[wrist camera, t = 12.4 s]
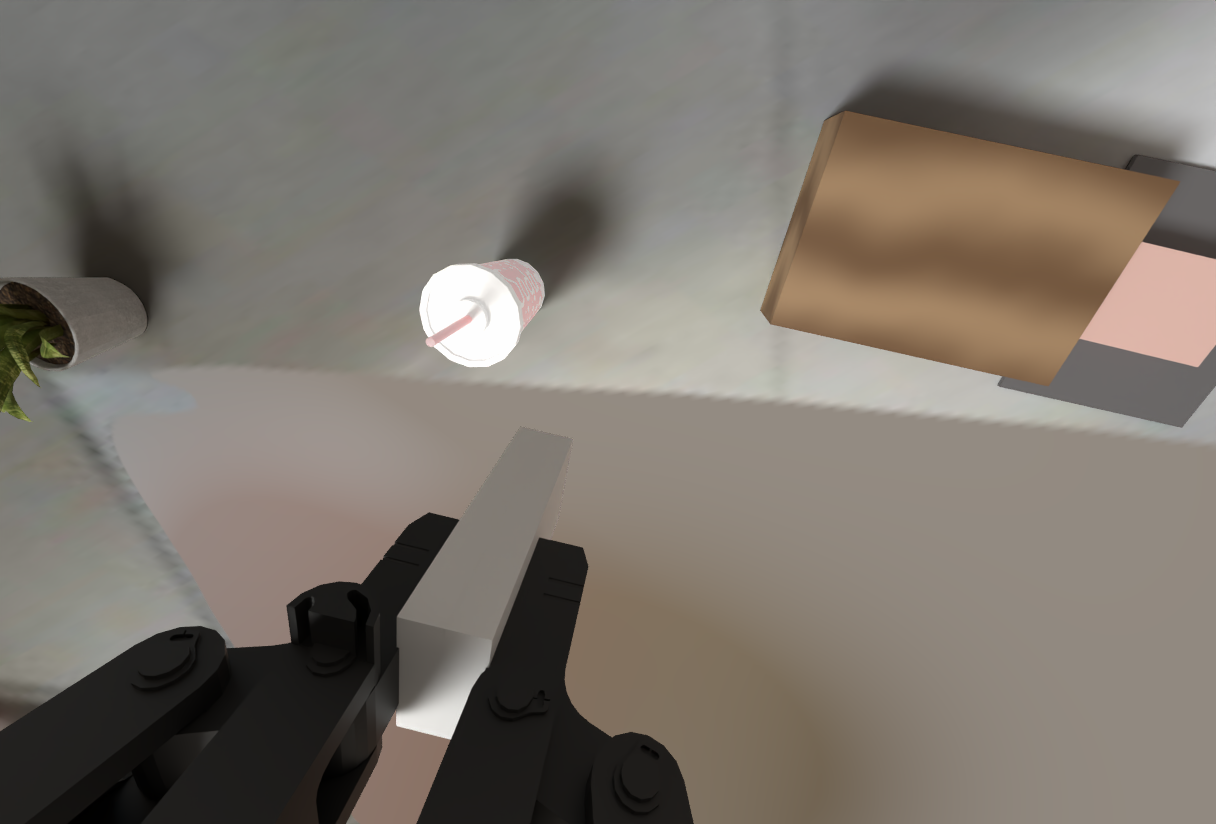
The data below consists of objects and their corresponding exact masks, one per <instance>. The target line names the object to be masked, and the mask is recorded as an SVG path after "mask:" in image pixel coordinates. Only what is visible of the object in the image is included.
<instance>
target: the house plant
mask: <svg viewBox="0 0 1216 824" xmlns="http://www.w3.org/2000/svg"><path fill="white" fill-rule="evenodd" d="M146 327H147V315H146V311H145V309H144V306H143V304H142V303H141V301H140V300H139V298H138V296H137V295H136V294H135V293H134V292H133V291H132V290H131V289H130V288H128V287H127V286H125V285H124V284H122V283H120V282H118V281H116V280H113V279H111V278H108V277H10V278H0V412H1V411H2V412H5V411H7V412H8V413H9V414H11V415H12V416H14V417H16V418H18V419H22V420H26V421H31V420H30V419H29V418H28V417H27V416H26V415H25V414H24V412H23V411H22V410H21V409H20V407H19V406H18V404H17V402H16V400H15V398H14V396H13V393H12V391H13V383H14V382H15V380H16V379H17V377H18V376H19V374H20V372H21V370H22V371H23V373H24V374H25V375H26V376H27V377H28V378H29V379H30V380H32V381H33V382H34V383H35V384H36V385H37V386H39V383H38V379H37V378H36V376H35V375H34V373H33V372H32V370H31V367H30V364H31V365H33V366H35V367H37V368H40V369H44V370H48V371H63V370H66V369H69V368H71V367H73V366H75V365H78V364H80V363H82V362H84V361H86V360H88V359H90V358H93V357H95V356H97V355H99V354H101V353H103V352H106V351H108V350H110V349H112V348H114V347H116V346H119V345H121V344H123V343H125V342H127V341H129V340H131V339H134V338H136V337H138V336H140V335H141V334H142V333H143V332H144V331H145V329H146ZM3 348H4V349H3ZM39 387H40V386H39ZM32 422H34V421H32Z"/></svg>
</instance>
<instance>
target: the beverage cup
mask: <svg viewBox="0 0 1216 824" xmlns="http://www.w3.org/2000/svg"><path fill="white" fill-rule="evenodd" d="M544 297H545V292H544V283H543V281H542V279H541V277H540V275H539V273H538V272H537V271H536V270H535V269H534V268H533V267H532V266H531V265H530V264H529V263H527V262H524V261H521V260H519V259H504V260H499V261H494V262H489V263H484V264H476V263H474V264H456V265H451V266H449V267H447V268H445V269H443V270H441V271H439V272H438V273H436V274H434V275H433V276H432V278H431V279H430V280H429V282H428V283H427V285H426V286H425V288H424V289H423V291H422V297H421V303H420V309H419V310H420V315H421V319H422V324H423V329H424V331H425V332H426V334H427V336H428V337H429V338H427V339H426V344H427V345H428V346H429V347H433V346H434V347H435V348H436V349H438V350H439V351H440V352H441V353H442V354H444V355H445V356H446V357H447V358H448V359H450V360H452V361H454V362H457V363H460V364H462V365H465V366H468V367H488V366H490V365H492V364H494V363H497V362H499V361H501V360H503V359H504V358H505V357H506V356H507V355H508V354H509V353H510V352H511V350H512V349H513V348H514V347H515V346H516V344H517V343H518V342H519V339H520V335H521V332H522V330H523V329H524V328H525V327H526V325H527V324H528V323H529V322H530V320H531V319H532V318H533V317H534V315H535V314H536V313H537V312H538V310H539V309H540V308H541V307H542V303H543V300H544Z"/></svg>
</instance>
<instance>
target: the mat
mask: <svg viewBox="0 0 1216 824" xmlns="http://www.w3.org/2000/svg"><path fill="white" fill-rule="evenodd" d="M1126 170H1129V171H1134V172H1138V173H1143V174H1148V175H1153V176H1157V177H1162V178H1167V179H1172V180H1176V181H1181V182H1180V183H1179V185H1178V187H1177V188H1176V190H1175V191H1174V193H1173V194H1172V196H1171V197H1170V199H1169V200H1168V202H1167V204H1166V205H1165V207H1164V208H1163V210H1162V211H1161V213H1160V214H1159V216H1158V218H1157V219H1156V221H1155V222H1154V224H1153V225H1152V227H1151V228H1150V230H1149V231H1148V233H1147V235H1146V236H1145V238H1144V239H1143V241H1142V242H1145V243H1149V244H1153V245H1157V246H1162V247H1166V248H1170V249H1174V250H1178V251H1183V252H1187V253H1191V254H1195V255H1200V256H1204V257H1208V258H1212V259H1216V171H1213V170H1208V169H1203V168H1198V167H1194V166H1189V165H1184V164H1179V163H1175V162H1170V161H1165V160H1160V159H1156V158H1151V157H1146V156H1141V155H1134V156H1133V158H1132V160H1131V161H1130V163H1129V165H1128V166H1127V168H1126ZM998 386H1000V387H1004V388H1008V389H1013V390H1017V391H1021V392H1026V393H1030V394H1035V395H1039V396H1044V397H1048V398H1053V399H1057V400H1061V401H1066V402H1070V403H1075V404H1079V405H1084V406H1088V407H1092V408H1097V409H1101V410H1106V411H1110V412H1115V413H1119V414H1124V415H1128V416H1132V417H1137V418H1141V419H1146V420H1150V421H1155V422H1159V423H1164V424H1168V425H1172V426H1177V427H1181V428H1182V427H1183V426H1184V424H1185V423H1186V422H1187V421H1188V419H1189V418H1190V417H1191V416H1192V414H1193V413H1194V412H1195V411H1196V409H1197V408H1198V407H1199V406H1200V405H1201V403H1202V402H1203V401H1204V400H1205V398H1206V397H1207V396H1208V395H1209V393H1210V392H1211V391H1212V390H1213V388H1214V387H1215V386H1216V345H1215V347H1214V348H1213V349H1212V350H1211V352H1210V353H1209V354H1208V355H1207V357H1206V358H1205V359H1204V360H1203V362H1202V363H1201V364H1200V365H1199V367H1194V366H1190V365H1186V364H1182V363H1178V362H1174V361H1170V360H1165V359H1161V358H1157V357H1153V356H1149V355H1145V354H1141V353H1136V352H1132V351H1128V350H1124V349H1120V348H1116V347H1112V346H1108V345H1103V344H1099V343H1095V342H1091V341H1087V340H1083V339H1079V340H1078V341H1077V343H1076V345H1075V346H1074V348H1073V349H1072V351H1071V352H1070V354H1069V355H1068V357H1067V359H1066V360H1065V362H1064V363H1063V365H1062V366H1061V368H1060V369H1059V371H1058V372H1057V374H1056V376H1055V377H1054V379H1053V380H1052V382H1051V383H1050V385H1049V386H1044V385H1040V384H1035V383H1031V382H1026V381H1022V380H1017V379H1013V378H1008V377H1004V376H1003V377H1002V378H1001V380H1000V382H999V383H998Z"/></svg>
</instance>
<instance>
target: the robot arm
mask: <svg viewBox="0 0 1216 824" xmlns="http://www.w3.org/2000/svg"><path fill="white" fill-rule="evenodd" d="M572 444H573V439H572V438H568V437H563V436H559V435H555V434H551V433H546V432H542V431H537V430H533V429H529V428H525V427H520V428H519V429H518V431H517V433H516V434H515V436H514V437H513V439H512V440H511V442H510V443H509V445H508V446H507V448H506V450H505V451H504V453H503V454H502V456H501V457H500V459H499V460H498V462H497V463H496V465H495V467H494V468H493V469H492V471H491V473H490V474H489V476H488V477H487V479H486V480H485V482H484V483H483V485H482V486H481V488H480V490H479V491H478V493H477V494H476V496H475V497H474V499H473V500H472V502H471V503H470V505H469V506H468V508H467V509H466V511H465V513H464V514H463V516H462V517H461V519H460V520H458V519H454V518H450V517H446V516H441V515H437V514H433V513H427V514H426V515H424V516H422V517H421V518H419V519H417V520H416V521H414V522H412V523H411V524H409V525H408V527H407V528H406V529H405V530H404V531H403V532H402V534H401V535H400V536H399V538H398V539H397V540H396V541H395V544H394V545H393V546H391V548H390V549H389V550H388V551H387V553H386V554H385V555H384V558H383V560H380V562H379V563H378V564H377V565H376V567H375V568H374V569H373V570H372V572H371V573H370V574H369V576H368V577H367V578H366V579H365V580H364V582H363V583H362V584H361V585H360V584H358V583H351V582H335V583H329V584H323V585H319V586H317V587H315V588H313V589H311V590H308V591H306V592H304V593H302V594H300V595H299V596H298V597H297V598H295V599H294V600H293V601H292V602H290V603H289V604H288V605H287V613H288V620H289V627H290V635H291V643H288V644H281V645H275V646H261V647H242V648H226V644H225V640H224V639H223V638H222V637H221V636H220V634H219V633H218V632H217V631H215V630H212V629H209V628H205V627H202V626H193V627H179V628H176V629H172V630H169V631H165V632H162V633H158V634H156V635H154V636H152V637H150V638H148V639H146V640H144V641H142V642H140V643H138V644H136V645H134V646H133V647H131V648H130V649H128V650H127V651H125V652H123V653H122V654H120V655H119V656H117V657H116V658H114V659H112V660H111V661H109V662H108V663H106V664H105V665H103V666H102V667H100V668H98V669H97V670H95V671H94V672H92V673H91V674H89V675H87V676H86V677H84V678H83V679H81V680H80V681H78V682H77V683H75V684H73V685H72V686H70V687H69V688H67V689H66V690H64V691H62V692H61V693H59V694H58V695H56V696H55V697H53V698H52V699H50V700H48V701H47V702H45V703H44V704H42V705H41V706H39V707H38V708H36V709H34V710H33V711H31V712H30V713H28V714H27V715H25V716H23V717H22V718H20V719H19V720H17V721H16V722H14V723H13V724H11V725H9V726H8V727H6V728H5V729H3V730H2V731H0V824H346V823H347V821H348V819H349V817H350V815H351V813H352V811H353V809H354V807H355V805H356V803H357V801H358V799H359V797H360V795H361V793H362V791H363V789H364V787H365V786H366V784H367V782H368V780H369V778H370V776H371V774H372V772H373V770H374V768H375V766H376V764H377V762H378V758H379V756H380V752H381V749H382V734H383V732H384V731H385V729H386V727H387V725H388V723H389V721H390V719H391V717H392V716H393V714H394V712H395V710H396V726H399V727H403V728H407V729H411V730H415V731H419V732H423V733H427V734H431V735H435V736H440V737H443V738H447V739H451V740H450V743H449V745H448V748H447V750H446V753H445V755H444V758H443V760H442V762H441V765H440V767H439V770H438V772H437V775H436V777H435V780H434V782H433V785H432V787H431V790H430V792H429V794H428V797H427V799H426V802H425V804H424V807H423V809H422V812H421V814H420V817H419V819H418V821H417V824H694V823H693V818H692V814H691V809H690V805H689V800H688V796H687V791H686V787H685V782H684V779H683V777H682V774H681V772H680V769H679V767H678V764H677V762H676V760H675V759H674V758H673V757H672V755H671V754H670V753H669V752H668V750H667V749H666V748H665V747H664V745H662V744H660V743H659V742H657V741H656V740H654V739H653V738H651V737H650V736H648V735H643V734H638V733H633V732H629V733H625V734H620V735H615V736H614V737H613V738H612V737H610V736H609V735H607V734H606V733H604V732H603V731H601V730H600V729H598V728H597V727H595V726H594V725H592V724H591V723H589V722H588V721H587V720H586V719H584V718H583V717H582V716H581V715H580V714H579V713H578V712H577V710H576V709H575V708H574V706H573V705H572V703H571V701H570V699H569V697H568V695H567V692H566V686H565V680H564V679H565V668H566V663H567V659H568V655H569V650H570V646H571V641H572V637H573V632H574V628H575V624H576V619H577V614H578V610H579V606H580V601H581V597H582V592H583V587H584V584H585V579H586V575H587V570H588V564H587V560H586V557H585V553H584V550H583V548H582V547H578V546H573V545H569V544H565V543H561V542H557V541H553V540H551V538H552V535H553V532H554V530H555V527H556V524H557V521H558V518H559V513H560V508H561V502H562V497H563V492H564V486H565V481H566V475H567V470H568V465H569V459H570V454H571V449H572Z"/></svg>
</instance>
